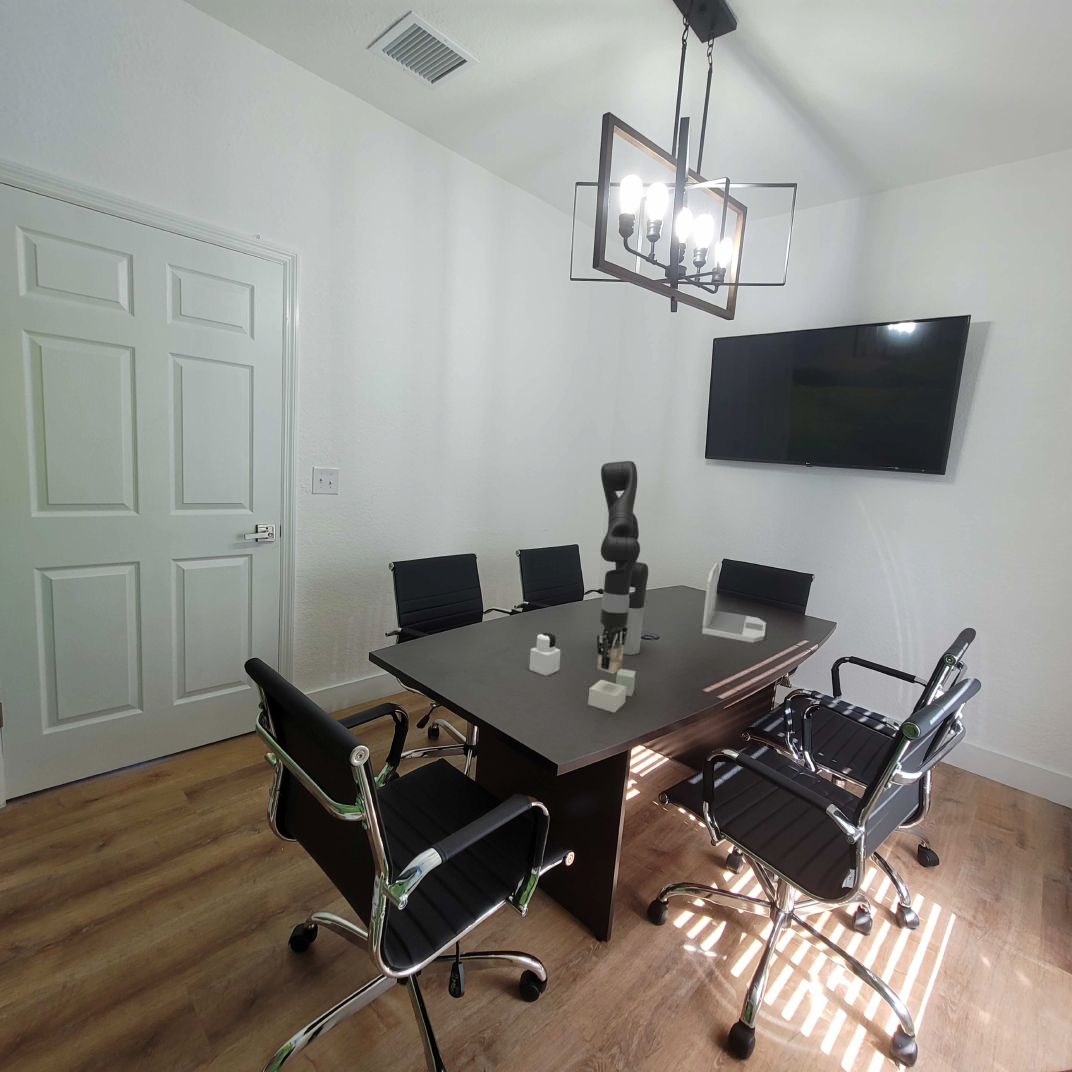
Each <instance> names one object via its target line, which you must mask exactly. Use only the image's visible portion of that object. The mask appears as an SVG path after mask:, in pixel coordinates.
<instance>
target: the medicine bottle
mask: <svg viewBox="0 0 1072 1072" xmlns="http://www.w3.org/2000/svg"><path fill="white" fill-rule="evenodd" d="M556 639H557V637H556V636H555V634H553V633H549V632H542V633H539V634H538V635H537V636H536V647H532V648H530V651H529V653H530V654H529V665H528V666H529V670H530V671H532V672H534V673H537V674H540V675H542V676H545V677H546V676H547V677H548V676H549V675H551V674H553V673H556V672H558V671H560V666H561V665H560V664H561V649H559V648H556V644H557V641H556Z"/></svg>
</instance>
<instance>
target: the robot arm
mask: <svg viewBox="0 0 1072 1072" xmlns="http://www.w3.org/2000/svg"><path fill="white" fill-rule="evenodd" d="M600 477H601V483H602V487H603V492H604V496H605V497H604V498H605V502H606V504H607V512H608V520H607V523H608V525H607V532H606V534H605V536H604V538H603V540H602V543H601V547H600V555H601V557H602V559H603V560H604V561H606V562H610V563H614V565H615V569H611V570H607V571H606V572H605V576H604V582H603V583H604V585H603V593H602V597H601V598H602V599H601V608H600V609H601V610H600V620H599V621H600V623H601V625H603V627H604V628H603V632H602V634H601V635H600V634H598V635H597V636H596V643H597V645H596V646H597V647H596V648H597V655H602V662H601V668H603V669H606V670H607V669H609V664H610V654H611V649H613V648H614V645H615V644H618V645H624V647H623V655H628V656H629V655H630V656H631V655H632V656H633V655H637V654H639V653H640V649H641V641H642V640H641V638H642V629H643V618H644V610H645V609H644V607H645V599H646V593H647V585H648V579H649V567H648V564H646V563H644V562H640V561H639V562H638V559H639V556H640V552H641V545H640V542H639V541H638V540H639V535H640V532H639V524H638V518H637V517H636V515H635V513H634V506H635V500H636V495H637V490H638V470H637V466H636V464H635V462H634V461H631V460H626V461H625V460H623V461H614V462H607V463H603V465H602V466H601V469H600ZM617 492H622V494H621V495H620V496H618V494H617ZM630 588H634V591H633V592H630ZM607 643H608V644H611V645H610V646H609V645H607ZM601 648H602V650H601ZM607 648H608V652H607Z"/></svg>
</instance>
